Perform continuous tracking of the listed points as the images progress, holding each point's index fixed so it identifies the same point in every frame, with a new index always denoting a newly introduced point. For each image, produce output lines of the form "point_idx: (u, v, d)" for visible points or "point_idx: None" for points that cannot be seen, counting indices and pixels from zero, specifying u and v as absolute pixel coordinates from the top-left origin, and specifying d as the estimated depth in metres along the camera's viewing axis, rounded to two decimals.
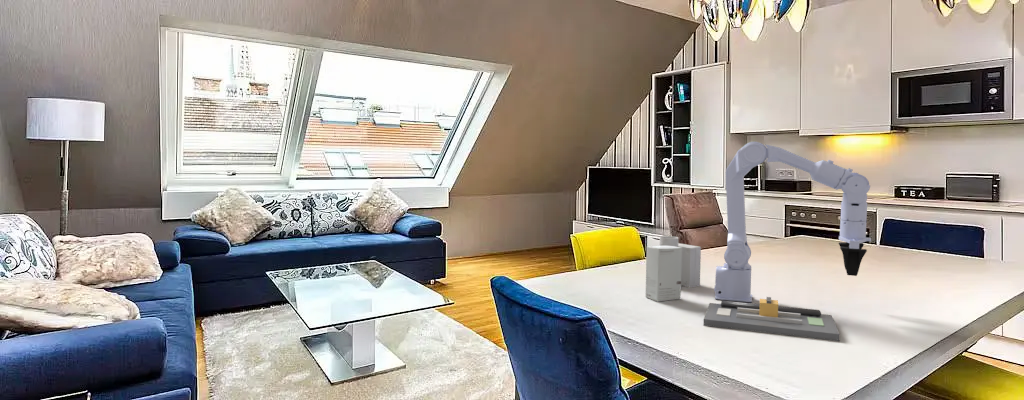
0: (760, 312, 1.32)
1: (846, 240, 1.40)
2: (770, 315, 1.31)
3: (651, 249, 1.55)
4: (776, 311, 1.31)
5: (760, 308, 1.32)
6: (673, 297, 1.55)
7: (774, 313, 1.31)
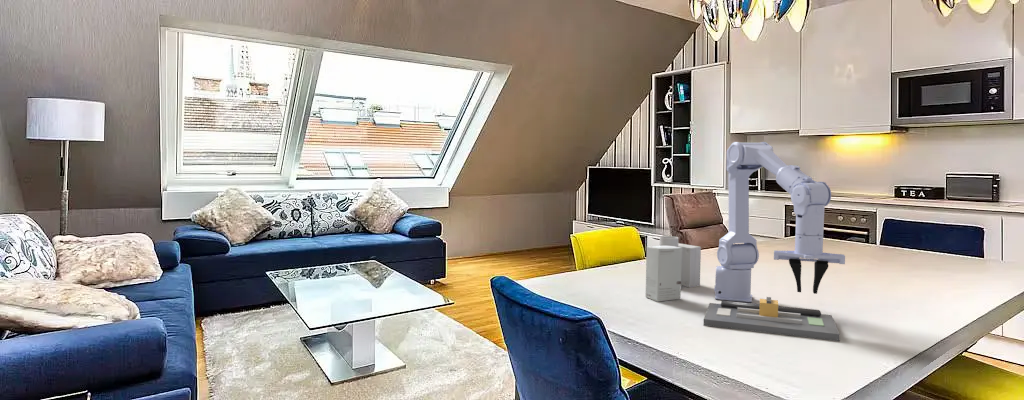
0: (760, 312, 1.32)
1: None
2: (770, 315, 1.31)
3: (651, 249, 1.55)
4: (776, 311, 1.31)
5: (760, 308, 1.32)
6: (673, 297, 1.55)
7: (774, 313, 1.31)
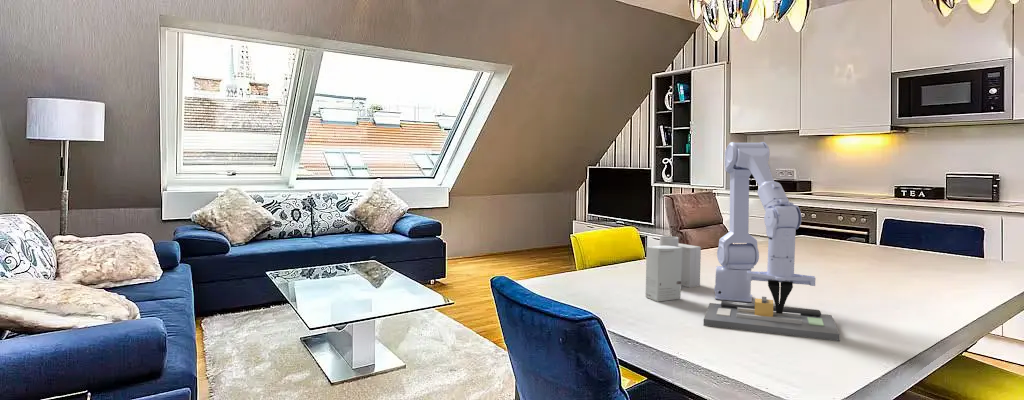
0: (755, 312, 1.33)
1: None
2: (766, 315, 1.32)
3: (651, 249, 1.55)
4: (771, 311, 1.31)
5: (755, 308, 1.33)
6: (673, 297, 1.55)
7: (769, 313, 1.31)
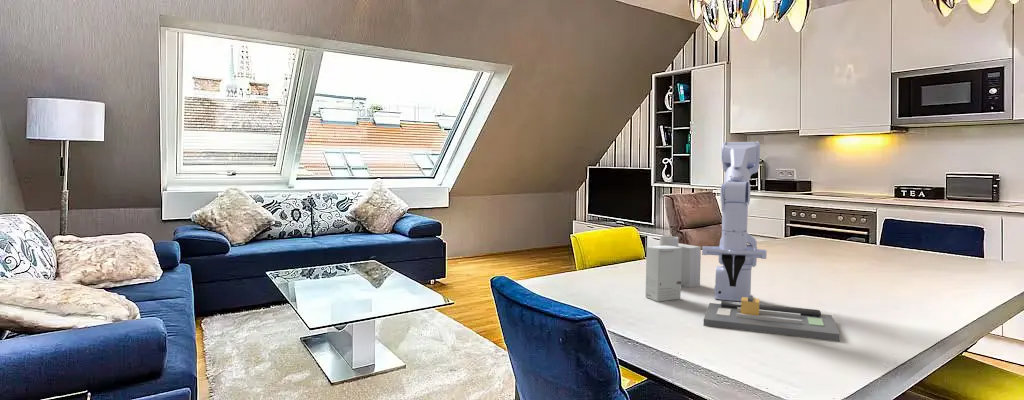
0: (742, 310, 1.34)
1: None
2: (752, 313, 1.33)
3: (651, 249, 1.55)
4: (757, 309, 1.32)
5: (742, 306, 1.34)
6: (673, 297, 1.55)
7: (756, 311, 1.33)
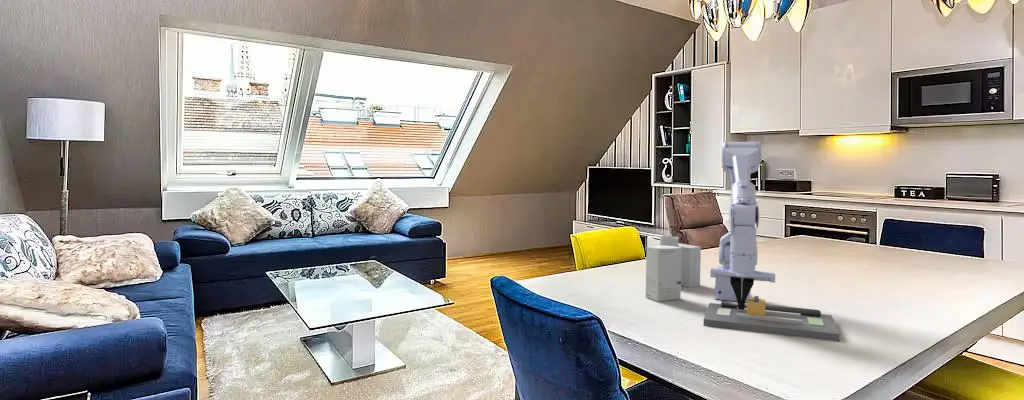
0: (748, 311, 1.33)
1: None
2: (758, 314, 1.33)
3: (651, 249, 1.55)
4: (763, 310, 1.32)
5: (748, 307, 1.33)
6: (673, 297, 1.55)
7: (762, 312, 1.32)
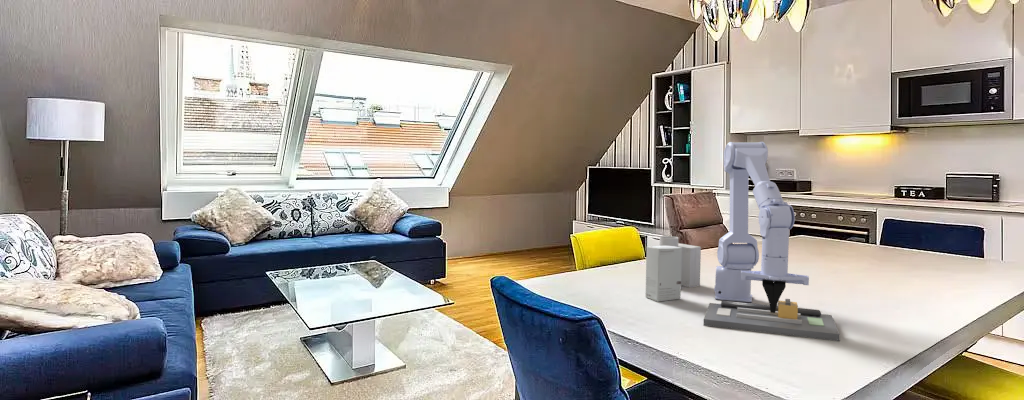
0: (779, 314, 1.31)
1: None
2: (790, 317, 1.30)
3: (651, 249, 1.55)
4: (796, 313, 1.29)
5: (779, 310, 1.31)
6: (673, 297, 1.55)
7: (794, 315, 1.29)
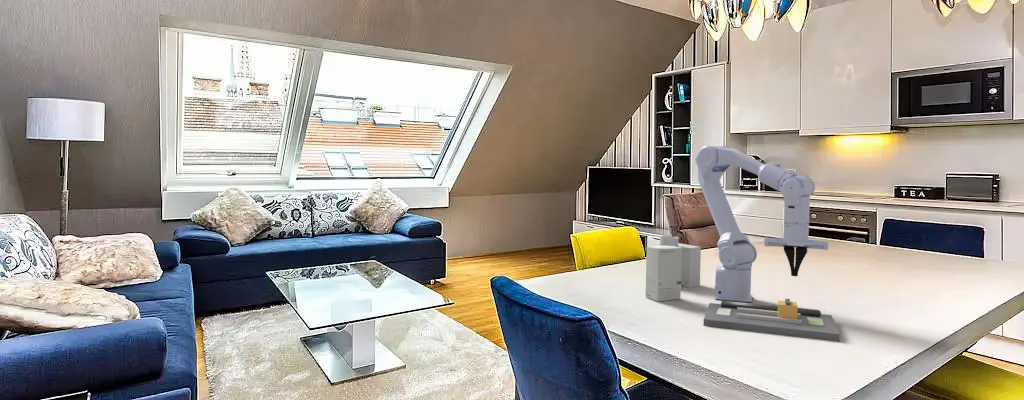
0: (779, 314, 1.31)
1: None
2: (790, 317, 1.30)
3: (651, 249, 1.55)
4: (795, 313, 1.29)
5: (779, 310, 1.31)
6: (673, 297, 1.55)
7: (794, 315, 1.29)
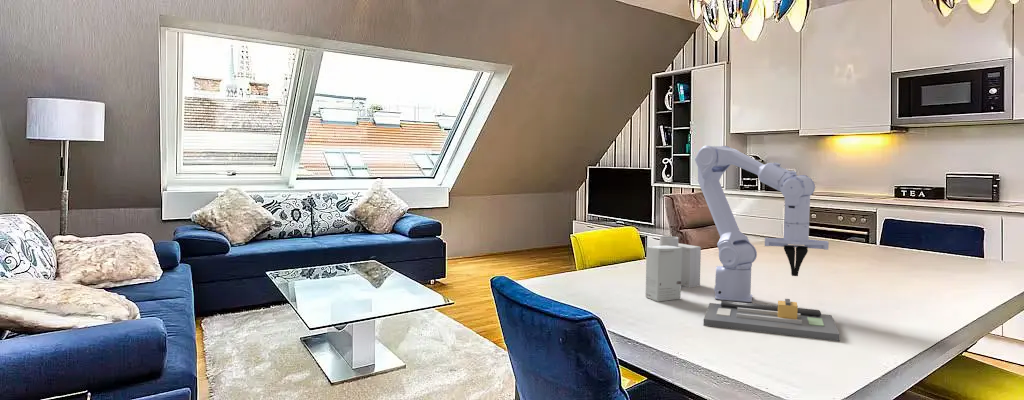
0: (779, 314, 1.31)
1: None
2: (790, 317, 1.30)
3: (651, 249, 1.55)
4: (795, 313, 1.29)
5: (779, 310, 1.31)
6: (673, 297, 1.55)
7: (794, 315, 1.29)
